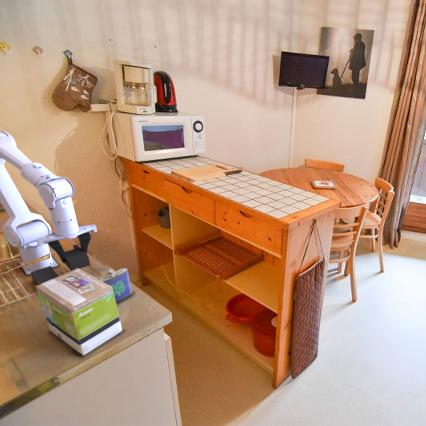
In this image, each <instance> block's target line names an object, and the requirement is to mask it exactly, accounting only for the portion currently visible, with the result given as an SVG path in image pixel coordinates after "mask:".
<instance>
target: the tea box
mask: <svg viewBox="0 0 426 426" xmlns="http://www.w3.org/2000/svg"><path fill="white" fill-rule="evenodd" d="M58 276H59V277H56V278H54V279H52V280H49V281H47V282H45V283H42V284H40V285H38V286H36V285H35V290H36V294H37V297H38V299H39V302H40V306H41V308H42V310H43V313H44V316H45V319H46V320H47V321H46V322H47V325H48V328H49V330H50V332H52V333H53V334H54V335H55V336H57V337H58V338H59V339H60V340H62V341H63V342H64V343H66V344H67V345H68V346H69V347H71V348H73V349H74V350H75V351H76V352H77V353H79V354H81V355H82V356H85V355H87V354H88V353H90V352H91V351H93V350H95V349H97V348H98V347H99V346H101V345H103V344H104V343H106V342H107V341H109V340H110V339H112V338H113V337H115V336H117V335H119V334H120V333H122V331H123V328H122V323H121V319H120V314H119V310H118V306H117V304H116V301H115V297H114V292H113V288H112V287H111V286H109V285H107V284H106V283H104V282H102V281H100V280H98V279H97V278H98V277H97V278H96V277H95V276H94V275H91V274H89V273H88V272H86V271H84V270H82V268H80V269H79V268H77V269H75V270H73V271H71V270H70V271H68V272H65V273H63V274H61V275H58Z"/></svg>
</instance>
